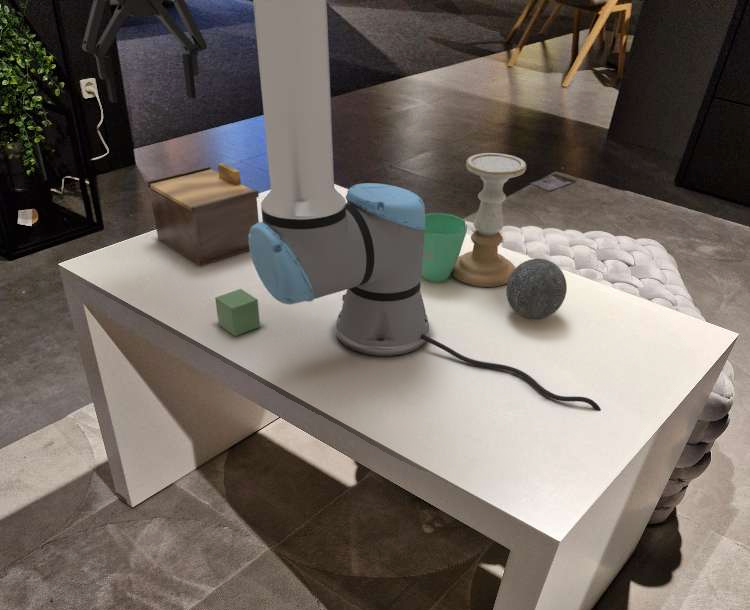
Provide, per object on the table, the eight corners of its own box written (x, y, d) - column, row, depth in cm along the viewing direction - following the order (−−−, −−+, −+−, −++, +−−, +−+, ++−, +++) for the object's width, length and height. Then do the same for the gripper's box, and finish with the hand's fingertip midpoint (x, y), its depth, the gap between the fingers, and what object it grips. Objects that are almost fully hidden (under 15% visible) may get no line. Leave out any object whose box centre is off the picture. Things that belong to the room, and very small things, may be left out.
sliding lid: (254, 194, 141) (253, 177, 138) (191, 211, 134) (188, 193, 132) (212, 173, 149) (209, 156, 147) (150, 188, 142) (147, 170, 140)
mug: (472, 278, 139) (478, 225, 132) (435, 293, 134) (440, 239, 127) (418, 252, 147) (421, 201, 140) (381, 266, 142) (383, 214, 135)
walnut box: (263, 248, 147) (258, 190, 139) (202, 267, 140) (193, 207, 132) (215, 221, 156) (208, 165, 149) (156, 237, 149) (145, 180, 142)
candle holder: (526, 282, 138) (546, 169, 125) (468, 292, 135) (481, 177, 121) (495, 255, 146) (509, 147, 133) (439, 264, 143) (448, 154, 129)
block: (260, 326, 123) (257, 299, 120) (235, 336, 121) (231, 308, 118) (243, 315, 126) (240, 288, 123) (218, 324, 124) (214, 297, 120)
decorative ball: (561, 333, 124) (573, 277, 117) (501, 327, 125) (509, 271, 118) (559, 305, 131) (571, 251, 125) (503, 300, 132) (511, 246, 126)
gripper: (201, -52, 123) (214, 93, 135) (43, -58, 112) (73, 100, 125) (217, -52, 118) (229, 98, 130) (53, -58, 107) (84, 106, 119)
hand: (153, 99), depth 127 cm, fingers open, 13 cm apart
